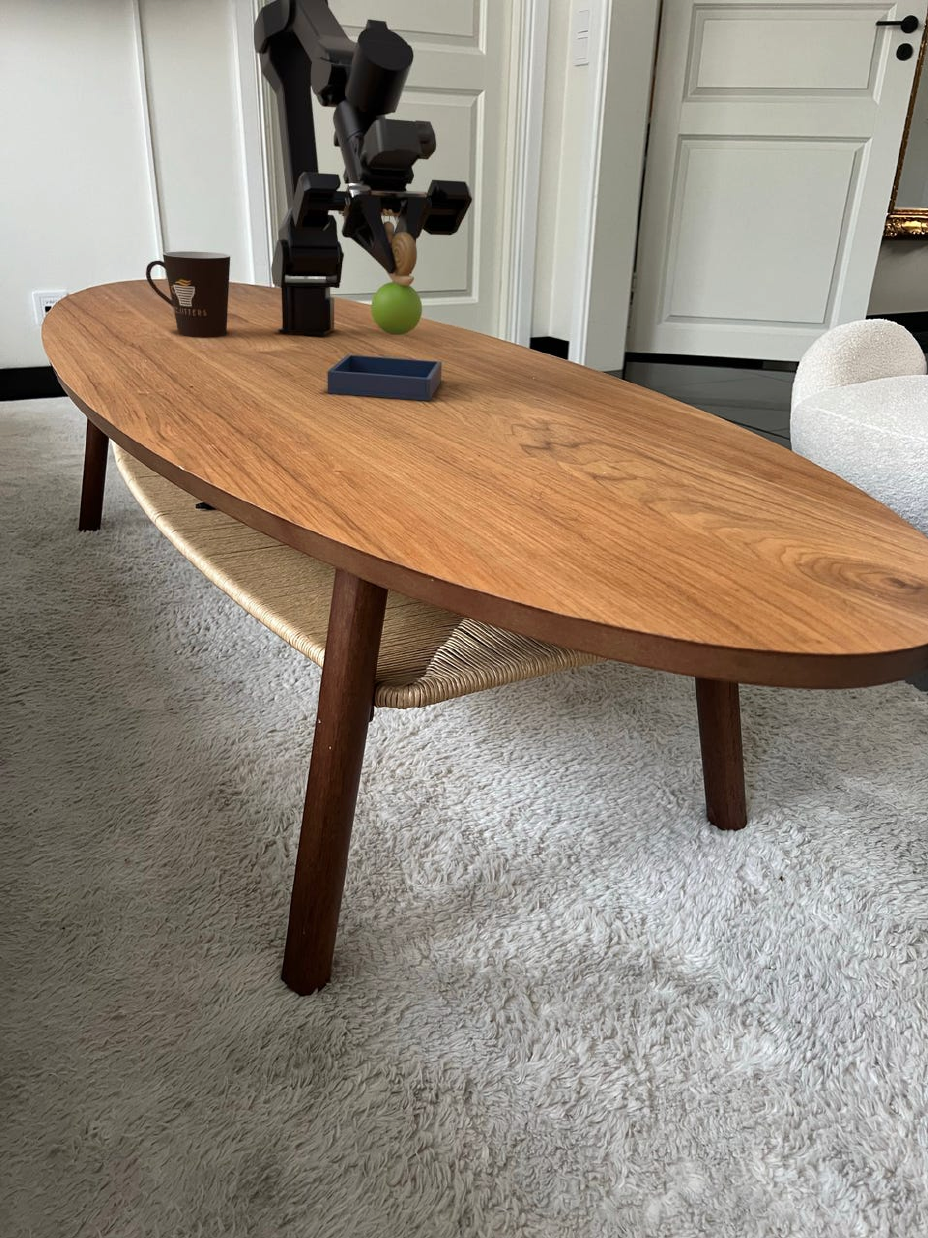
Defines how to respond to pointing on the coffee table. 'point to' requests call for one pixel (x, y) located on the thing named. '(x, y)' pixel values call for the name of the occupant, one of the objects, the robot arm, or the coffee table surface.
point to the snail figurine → (398, 287)
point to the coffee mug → (196, 291)
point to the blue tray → (385, 377)
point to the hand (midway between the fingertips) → (401, 271)
